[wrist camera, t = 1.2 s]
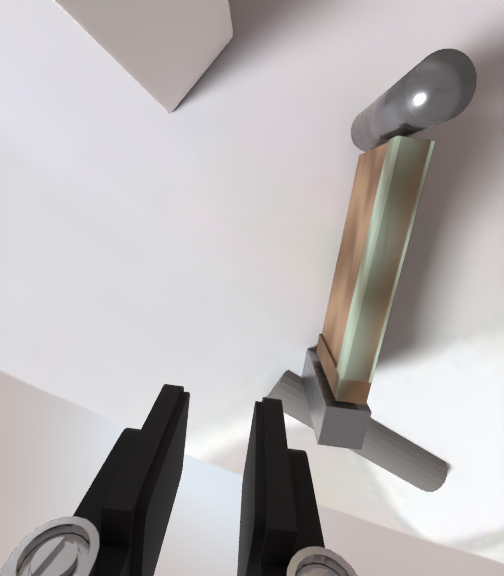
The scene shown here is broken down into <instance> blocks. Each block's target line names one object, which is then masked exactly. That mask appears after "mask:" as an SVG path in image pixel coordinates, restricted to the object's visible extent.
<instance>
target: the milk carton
mask: <svg viewBox="0 0 504 576" xmlns="http://www.w3.org/2000/svg"><path fill="white" fill-rule="evenodd" d="M53 1H54V2H55V3H56V4H57V5H58V6H59V7H60V8H61V9H62V10H63V11H64V12H65V13H66V14H67V15H68V16H69V17H70V18H71V19H72V20H73V21H74V22H75V23H76V24H77V25H78V26H79V27H80V28H81V29H82V30H83V31H84V32H86V33H87V34H88V35H89V36H90V37H91V38H92V39H93V40H94V41H95V42H96V43H97V44H98V45H99V46H100V47H101V48H102V49H103V50H104V51H105V52H106V53H107V54H108V55H109V56H110V57H111V58H112V59H113V60H114V61H115V62H116V63H117V64H118V65H119V66H120V67H121V68H122V69H123V70H125V71H126V72H127V73H128V74H129V75H130V76H131V77H132V78H133V79H134V80H135V81H136V82H137V83H138V84H139V85H140V86H141V87H142V88H143V89H144V90H145V91H146V92H147V93H148V94H149V95H150V96H151V97H152V98H153V99H154V100H155V101H156V102H157V103H158V104H159V105H160V106H161V107H162V108H164V109H165V110H166V111H167V112H168V113H171V112H172V111H173V110H174V109H175V108H176V107H177V105H178V104H179V103H180V102H181V100H182V99H183V98H184V97H185V96H186V94H187V93H188V92H189V91H190V89H191V88H192V87H193V86H194V84H195V83H196V82H197V81H198V80H199V78H200V77H201V76H202V75H203V73H204V72H205V71H206V70H207V69H208V67H209V66H210V65H211V64H212V62H213V61H214V60H215V59H216V57H217V56H218V55H219V54H220V53H221V51H222V50H223V49H224V48H225V46H226V45H227V44H228V43H229V41H230V40H231V39H232V37H233V27H232V21H231V14H230V7H229V0H53Z"/></svg>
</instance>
